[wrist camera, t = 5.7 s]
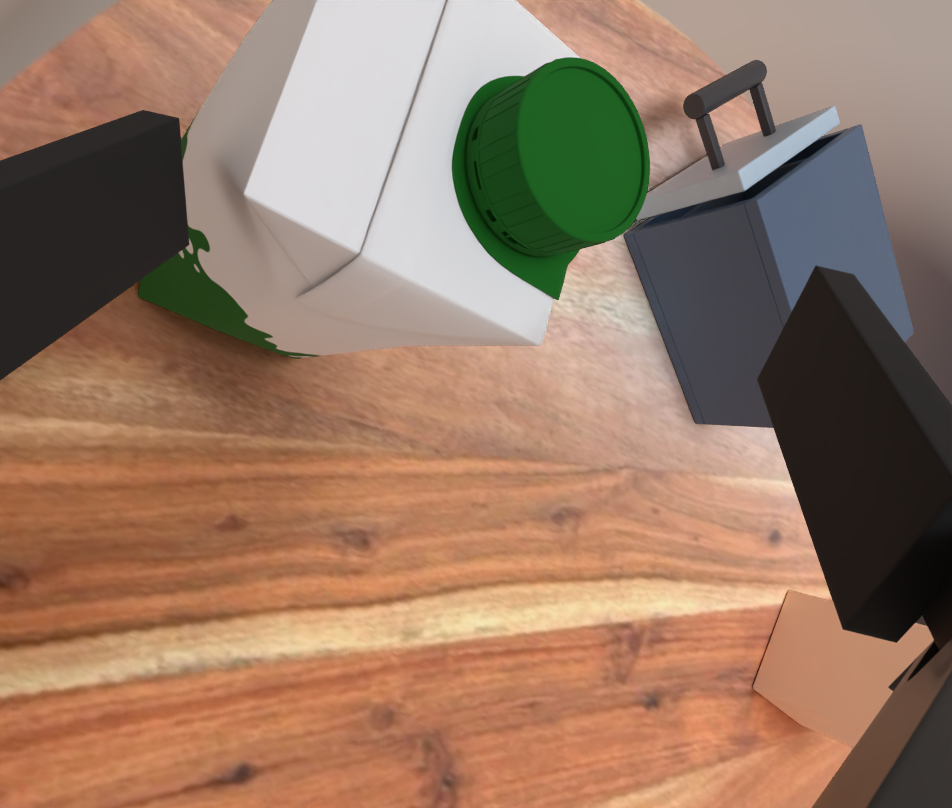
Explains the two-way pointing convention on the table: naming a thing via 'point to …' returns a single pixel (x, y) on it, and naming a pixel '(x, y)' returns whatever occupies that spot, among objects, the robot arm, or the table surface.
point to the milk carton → (398, 178)
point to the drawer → (736, 149)
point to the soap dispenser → (831, 668)
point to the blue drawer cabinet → (762, 272)
